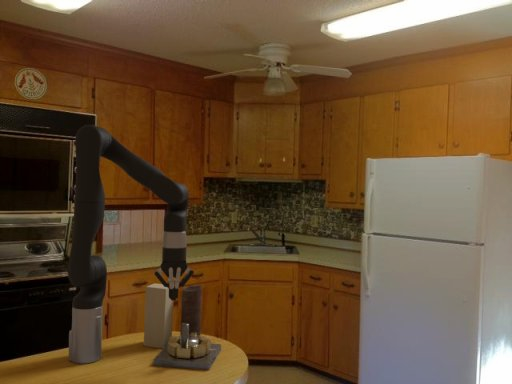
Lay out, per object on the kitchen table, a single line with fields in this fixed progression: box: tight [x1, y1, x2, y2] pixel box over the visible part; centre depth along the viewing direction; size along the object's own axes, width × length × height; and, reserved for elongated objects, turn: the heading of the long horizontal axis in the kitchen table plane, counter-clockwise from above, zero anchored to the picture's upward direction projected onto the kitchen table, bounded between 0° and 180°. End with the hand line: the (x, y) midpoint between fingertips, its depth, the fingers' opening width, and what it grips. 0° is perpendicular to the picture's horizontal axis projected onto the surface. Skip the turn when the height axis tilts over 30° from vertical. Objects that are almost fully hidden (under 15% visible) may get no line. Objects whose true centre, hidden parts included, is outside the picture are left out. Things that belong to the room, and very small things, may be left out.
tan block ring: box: [167, 323, 212, 358], centre depth 156 cm, size 14×14×10 cm
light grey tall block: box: [143, 283, 174, 349], centre depth 168 cm, size 8×7×21 cm
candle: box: [179, 284, 203, 336], centre depth 172 cm, size 8×7×20 cm
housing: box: [153, 336, 222, 371], centre depth 156 cm, size 18×18×6 cm
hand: (173, 299), depth 149 cm, fingers closed
